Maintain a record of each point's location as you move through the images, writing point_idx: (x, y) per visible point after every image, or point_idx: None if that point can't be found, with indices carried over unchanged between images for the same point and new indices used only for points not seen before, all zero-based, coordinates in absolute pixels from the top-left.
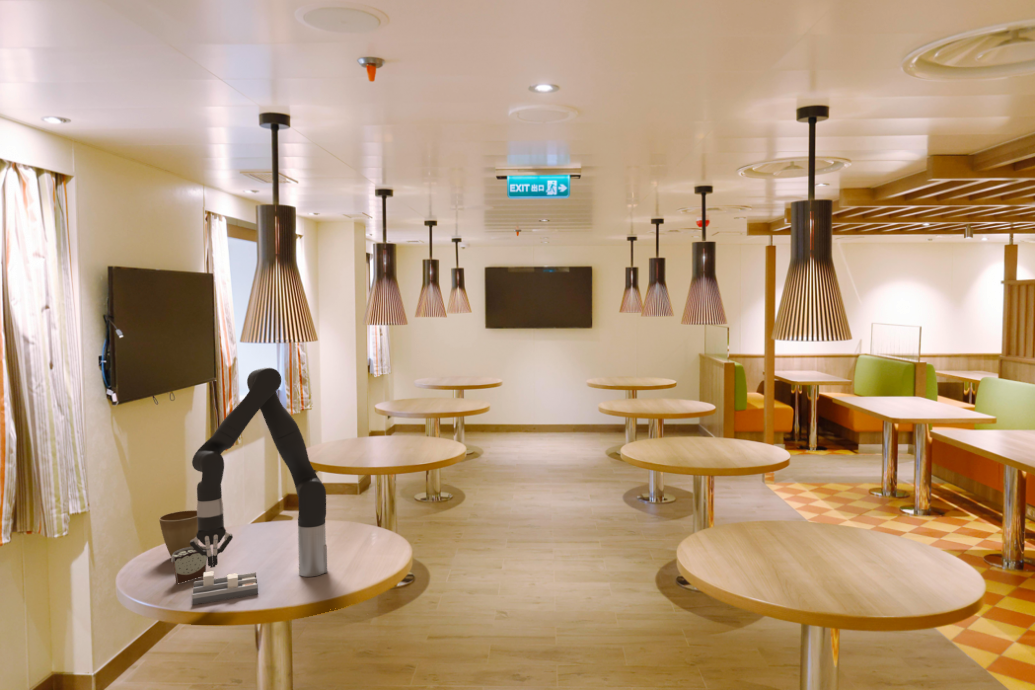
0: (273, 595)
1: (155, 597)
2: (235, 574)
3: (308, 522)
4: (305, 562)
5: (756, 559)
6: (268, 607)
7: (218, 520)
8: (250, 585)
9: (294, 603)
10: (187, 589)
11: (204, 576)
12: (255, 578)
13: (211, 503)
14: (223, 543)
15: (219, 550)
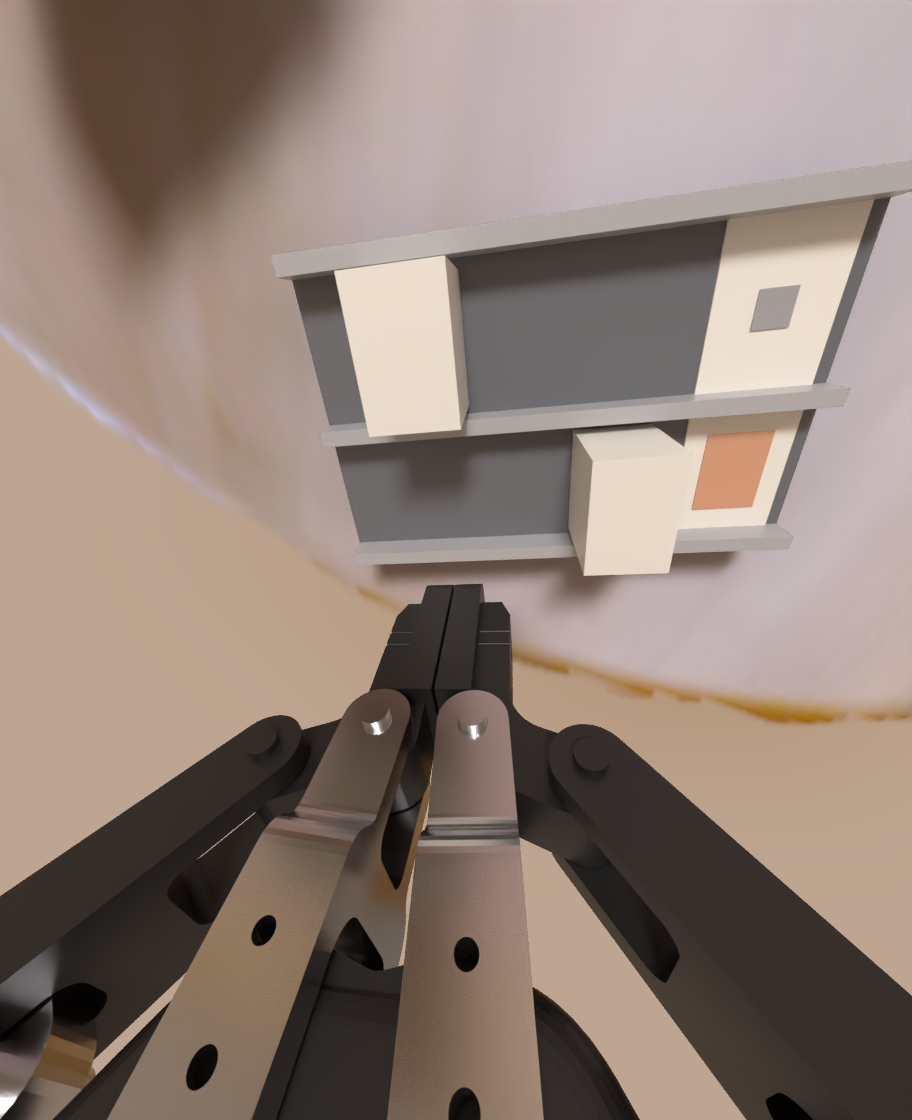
0: (824, 569)
1: (64, 294)
2: (666, 491)
3: None
4: None
5: None
6: (734, 690)
7: None
8: (732, 549)
9: (863, 695)
10: (233, 174)
11: (377, 431)
12: (829, 406)
13: None
14: (676, 988)
15: (555, 848)
